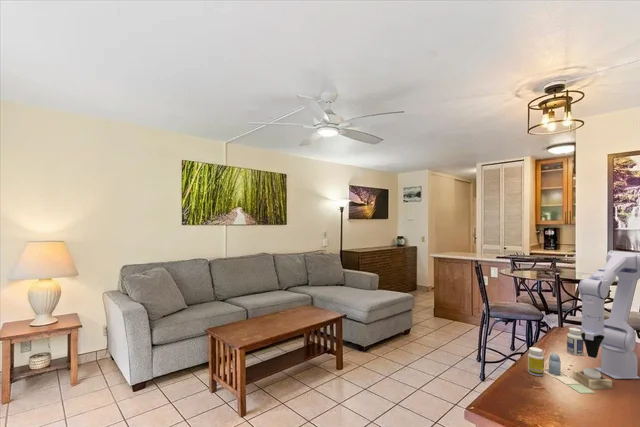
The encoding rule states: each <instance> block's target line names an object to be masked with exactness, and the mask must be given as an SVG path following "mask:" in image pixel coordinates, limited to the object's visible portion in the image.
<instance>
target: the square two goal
mask: <svg viewBox="0 0 640 427" xmlns="http://www.w3.org/2000/svg"><path fill="white" fill-rule="evenodd" d="M567 387H569V388H571V389H573V390H574V391H576V392H577V393H578V394H596V392H595V391H594V390H593V389H590V388H589V387H587V386H585V385H584V384H582V383H580V384H567Z"/></svg>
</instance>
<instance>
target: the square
mask: <svg viewBox="0 0 640 427" xmlns="http://www.w3.org/2000/svg"><path fill="white" fill-rule="evenodd" d="M555 379H556V380H558V381H559V382H561V383H563V384H565V385H581V383H580V382H578V381H577V380H575V379H573V378H571V376H570V377H555Z"/></svg>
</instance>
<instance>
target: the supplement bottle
mask: <svg viewBox="0 0 640 427" xmlns="http://www.w3.org/2000/svg"><path fill="white" fill-rule="evenodd" d="M543 351H544V350H543V349H541V348H539V347H536V346H535V347H534V346H533V347H532V346H531V347H529V349H528V352H529V353H528V354H527V372H528V374H530V375H533V376H537V377H543V376H544V375H545V372H544V371H545V370H544V368H545V365H544V364H545V357H544V355H543V354H544V352H543Z"/></svg>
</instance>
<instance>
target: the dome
mask: <svg viewBox="0 0 640 427" xmlns="http://www.w3.org/2000/svg"><path fill="white" fill-rule="evenodd" d="M583 371H584V375H585V376H587V377H588V378H590V379H601V375H602V372H600V371H598V370H596V369H595V368H591V367H590V368H588V367H585V368H584V367H583Z"/></svg>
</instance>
